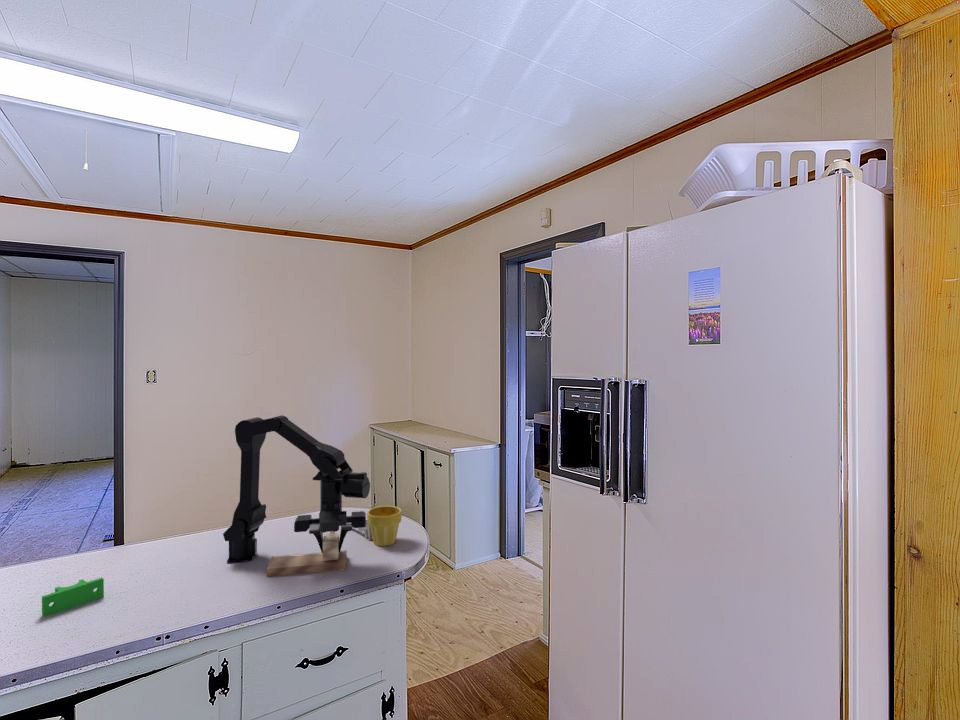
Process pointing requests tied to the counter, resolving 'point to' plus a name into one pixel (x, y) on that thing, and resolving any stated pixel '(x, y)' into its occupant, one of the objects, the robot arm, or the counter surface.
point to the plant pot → (384, 524)
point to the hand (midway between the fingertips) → (331, 552)
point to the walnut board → (304, 564)
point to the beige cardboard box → (331, 546)
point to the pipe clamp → (72, 596)
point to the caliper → (366, 530)
